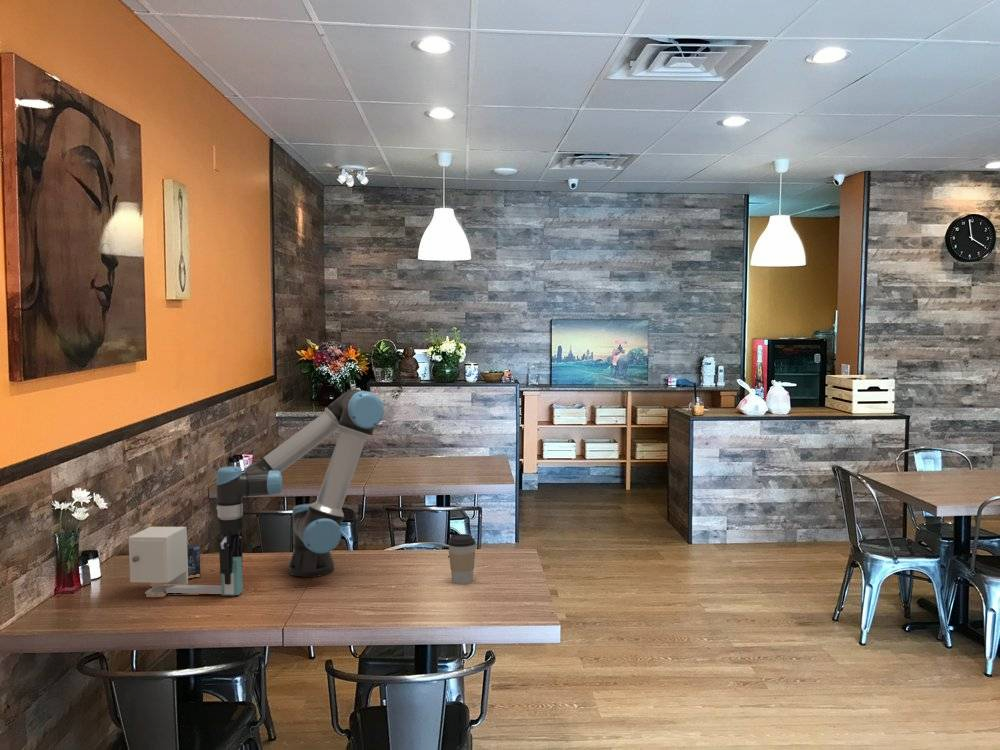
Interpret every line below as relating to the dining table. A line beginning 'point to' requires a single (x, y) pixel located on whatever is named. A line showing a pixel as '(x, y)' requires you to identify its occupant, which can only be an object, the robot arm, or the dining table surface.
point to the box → (193, 559)
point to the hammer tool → (213, 588)
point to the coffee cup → (462, 558)
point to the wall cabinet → (159, 555)
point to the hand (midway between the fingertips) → (232, 591)
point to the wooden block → (156, 590)
